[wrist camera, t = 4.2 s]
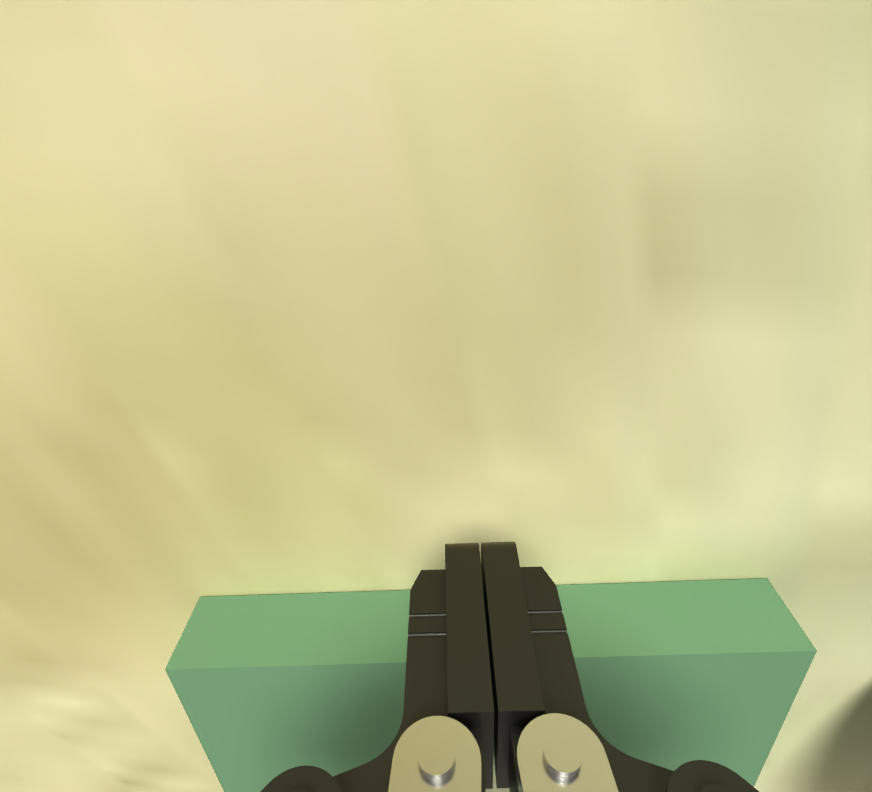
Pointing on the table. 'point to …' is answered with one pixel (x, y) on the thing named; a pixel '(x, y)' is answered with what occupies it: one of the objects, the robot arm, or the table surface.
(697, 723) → the putting mat
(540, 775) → the robot arm
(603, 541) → the table surface
